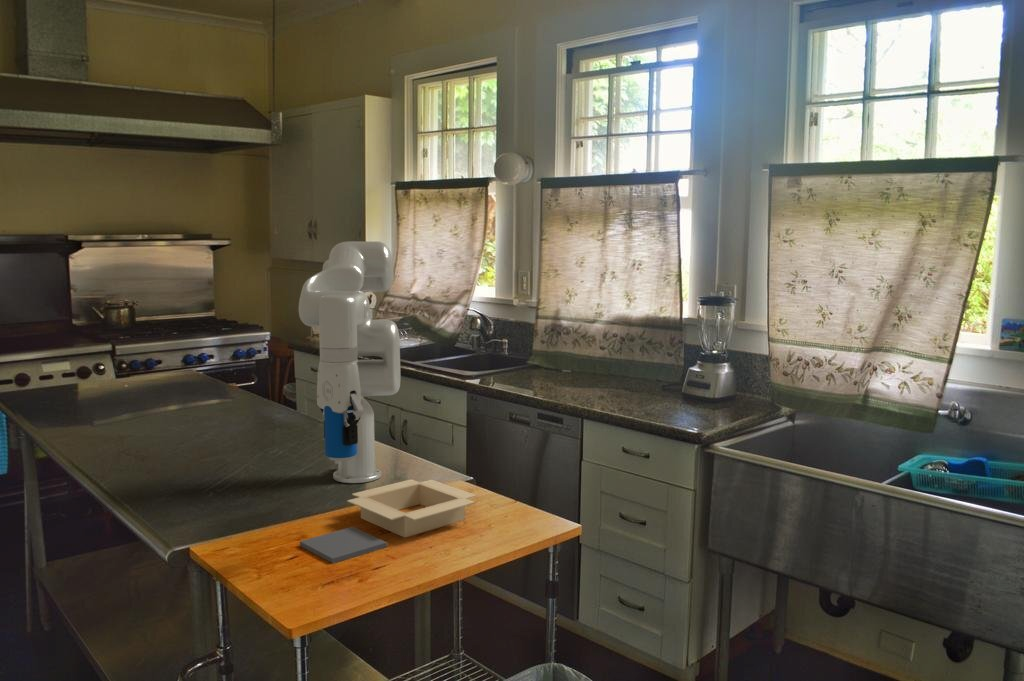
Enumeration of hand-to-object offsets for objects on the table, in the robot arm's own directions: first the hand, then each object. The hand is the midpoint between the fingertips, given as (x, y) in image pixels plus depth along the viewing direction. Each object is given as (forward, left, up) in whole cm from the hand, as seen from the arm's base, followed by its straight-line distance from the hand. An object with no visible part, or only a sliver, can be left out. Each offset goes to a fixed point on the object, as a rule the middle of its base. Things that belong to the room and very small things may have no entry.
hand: (340, 440), depth 177 cm
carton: (-4, +21, -23) cm, 31 cm away
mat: (0, 0, -23) cm, 23 cm away
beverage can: (0, 0, -4) cm, 4 cm away
